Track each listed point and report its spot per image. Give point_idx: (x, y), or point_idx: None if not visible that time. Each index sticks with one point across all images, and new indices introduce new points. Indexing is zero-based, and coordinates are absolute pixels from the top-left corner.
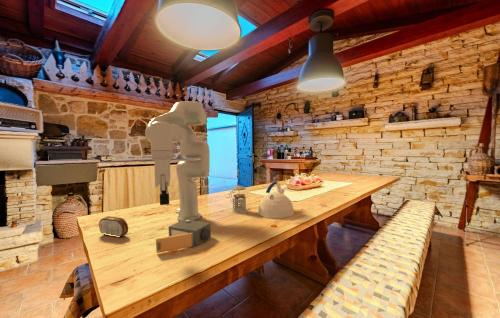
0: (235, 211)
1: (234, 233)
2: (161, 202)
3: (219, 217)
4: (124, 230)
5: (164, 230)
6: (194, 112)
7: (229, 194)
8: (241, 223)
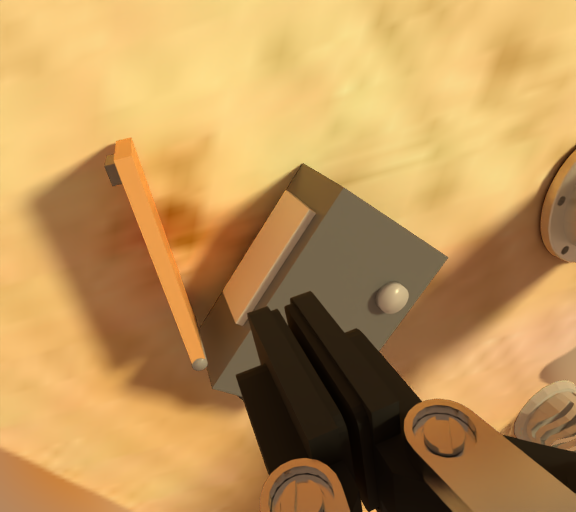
0: (542, 405)
1: None
2: (260, 349)
3: (519, 346)
4: None
5: (473, 84)
6: None
7: None
8: None
